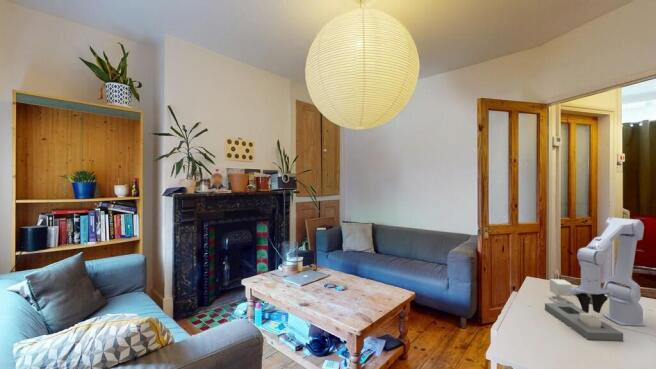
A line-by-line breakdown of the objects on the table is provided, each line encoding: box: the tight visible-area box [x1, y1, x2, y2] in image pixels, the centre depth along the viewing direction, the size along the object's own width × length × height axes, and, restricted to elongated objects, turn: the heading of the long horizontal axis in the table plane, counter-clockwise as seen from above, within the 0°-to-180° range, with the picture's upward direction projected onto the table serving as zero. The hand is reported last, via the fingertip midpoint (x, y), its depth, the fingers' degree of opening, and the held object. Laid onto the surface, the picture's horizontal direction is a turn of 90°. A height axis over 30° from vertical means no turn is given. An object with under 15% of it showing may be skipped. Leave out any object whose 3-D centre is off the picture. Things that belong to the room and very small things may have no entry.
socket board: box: [544, 302, 624, 342], centre depth 114 cm, size 12×24×3 cm, turn 174°
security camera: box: [548, 278, 573, 304], centre depth 134 cm, size 6×7×10 cm
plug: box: [579, 312, 602, 328], centre depth 109 cm, size 4×5×6 cm
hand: (590, 311), depth 108 cm, fingers open, 3 cm apart
